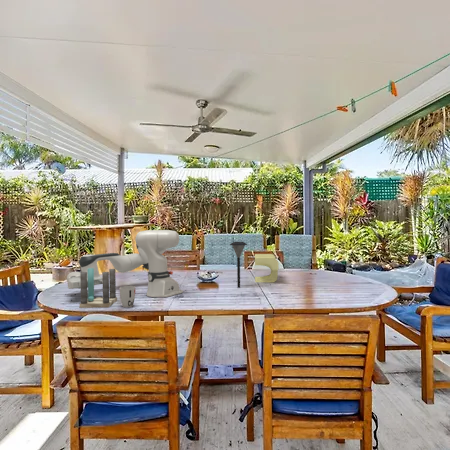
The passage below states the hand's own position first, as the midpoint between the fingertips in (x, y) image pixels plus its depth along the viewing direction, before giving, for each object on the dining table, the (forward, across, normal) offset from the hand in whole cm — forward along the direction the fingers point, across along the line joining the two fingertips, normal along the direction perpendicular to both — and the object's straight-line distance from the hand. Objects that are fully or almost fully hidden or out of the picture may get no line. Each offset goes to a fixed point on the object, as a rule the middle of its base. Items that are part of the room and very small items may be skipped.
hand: (93, 283), depth 193 cm
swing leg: (+3, +3, -7) cm, 8 cm away
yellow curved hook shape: (+32, -114, -10) cm, 119 cm away
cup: (+24, -7, -10) cm, 27 cm away
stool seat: (+8, +1, -10) cm, 13 cm away
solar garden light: (+34, -82, -10) cm, 90 cm away
